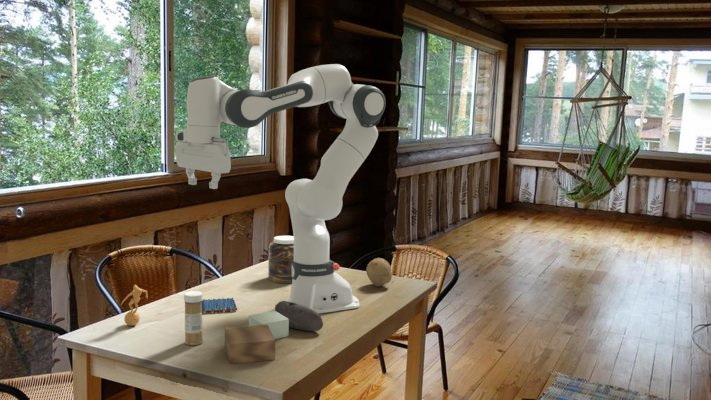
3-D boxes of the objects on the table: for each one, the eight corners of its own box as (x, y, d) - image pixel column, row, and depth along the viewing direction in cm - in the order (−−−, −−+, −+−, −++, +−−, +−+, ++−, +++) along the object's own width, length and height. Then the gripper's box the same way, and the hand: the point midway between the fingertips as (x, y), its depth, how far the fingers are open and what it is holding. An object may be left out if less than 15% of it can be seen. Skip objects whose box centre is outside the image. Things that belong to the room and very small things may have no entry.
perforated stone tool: (327, 331, 176) (328, 307, 175) (317, 337, 171) (317, 312, 170) (283, 321, 183) (284, 297, 182) (272, 326, 179) (272, 302, 178)
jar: (289, 272, 234) (290, 233, 232) (308, 280, 225) (309, 239, 223) (262, 277, 227) (262, 236, 224) (280, 285, 218) (280, 242, 216)
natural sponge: (366, 281, 226) (366, 254, 224) (391, 282, 225) (392, 255, 224) (365, 289, 217) (366, 260, 215) (391, 290, 216) (392, 261, 215)
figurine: (140, 319, 180) (139, 279, 178) (153, 324, 177) (153, 283, 175) (114, 327, 174) (113, 285, 172) (127, 332, 170) (126, 289, 168)
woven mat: (238, 313, 189) (238, 307, 189) (201, 316, 186) (201, 309, 186) (234, 303, 199) (234, 296, 199) (200, 305, 196) (199, 298, 196)
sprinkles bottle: (202, 339, 167) (202, 290, 165) (202, 345, 163) (202, 295, 161) (184, 340, 166) (184, 290, 164) (184, 346, 162) (183, 296, 160)
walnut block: (267, 343, 166) (267, 324, 165) (275, 359, 156) (275, 340, 155) (224, 346, 163) (224, 328, 162) (229, 363, 152) (229, 344, 152)
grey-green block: (274, 327, 178) (275, 310, 177) (288, 336, 172) (288, 319, 171) (248, 332, 174) (248, 315, 173) (261, 342, 167) (261, 324, 166)
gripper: (236, 138, 168) (235, 190, 170) (191, 133, 181) (190, 181, 183) (217, 138, 163) (216, 191, 165) (172, 134, 176) (171, 183, 178)
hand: (202, 186), depth 174 cm, fingers open, 8 cm apart
